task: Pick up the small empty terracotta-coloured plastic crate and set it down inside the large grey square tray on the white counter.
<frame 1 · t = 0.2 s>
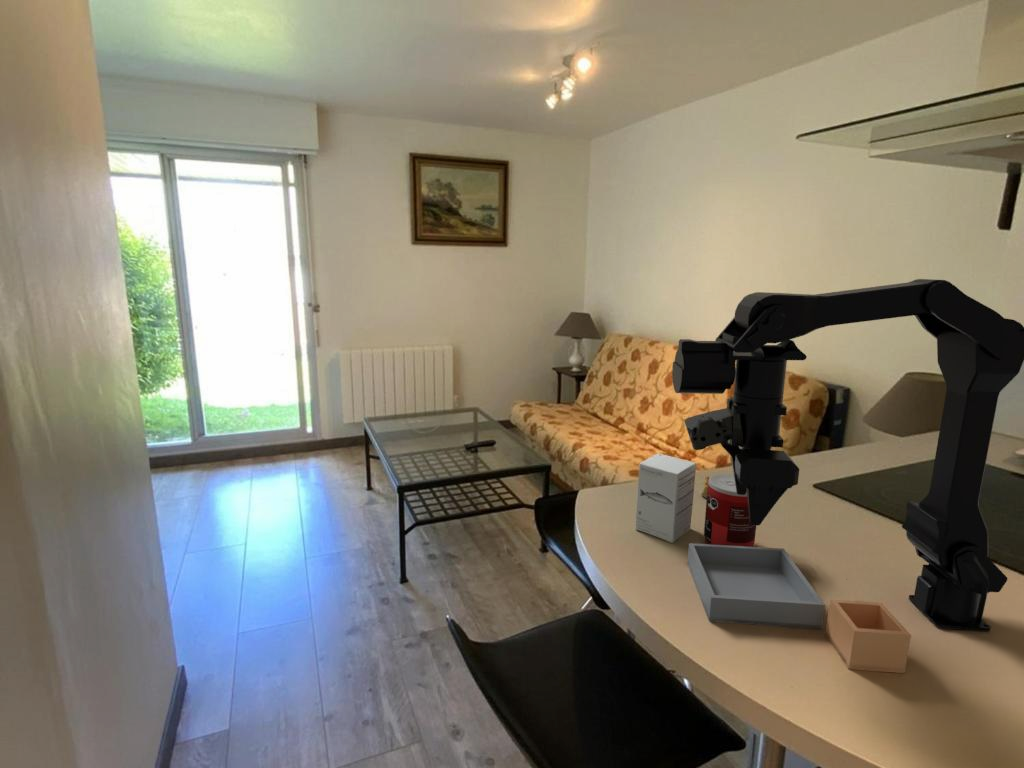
hand: (747, 508, 71), 14 cm above the kitchen counter, tool pointing down, fingers open, 9 cm apart
grey square tray: (747, 593, 77), on the kitchen counter
pastry: (720, 497, 109), on the kitchen counter
canned food: (727, 545, 90), on the kitchen counter
small crate: (862, 652, 65), on the kitchen counter
supplement box: (663, 530, 95), on the kitchen counter
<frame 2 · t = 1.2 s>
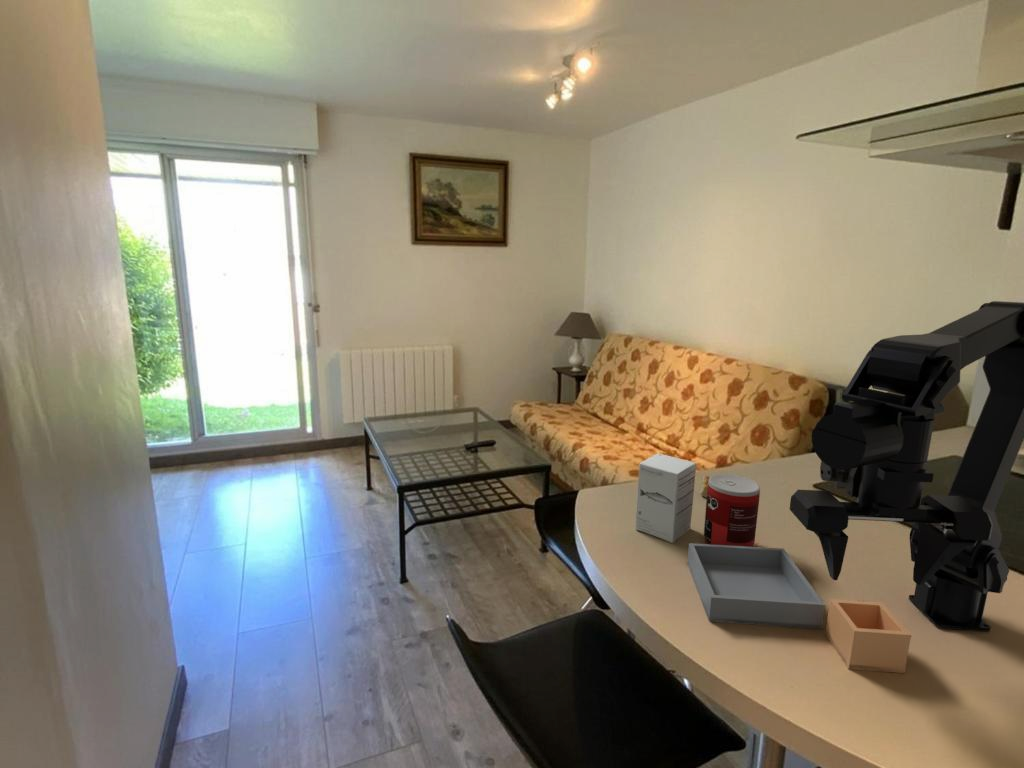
hand: (874, 580, 63), 10 cm above the kitchen counter, tool pointing down, fingers open, 9 cm apart
nothing on the kitchen counter moved.
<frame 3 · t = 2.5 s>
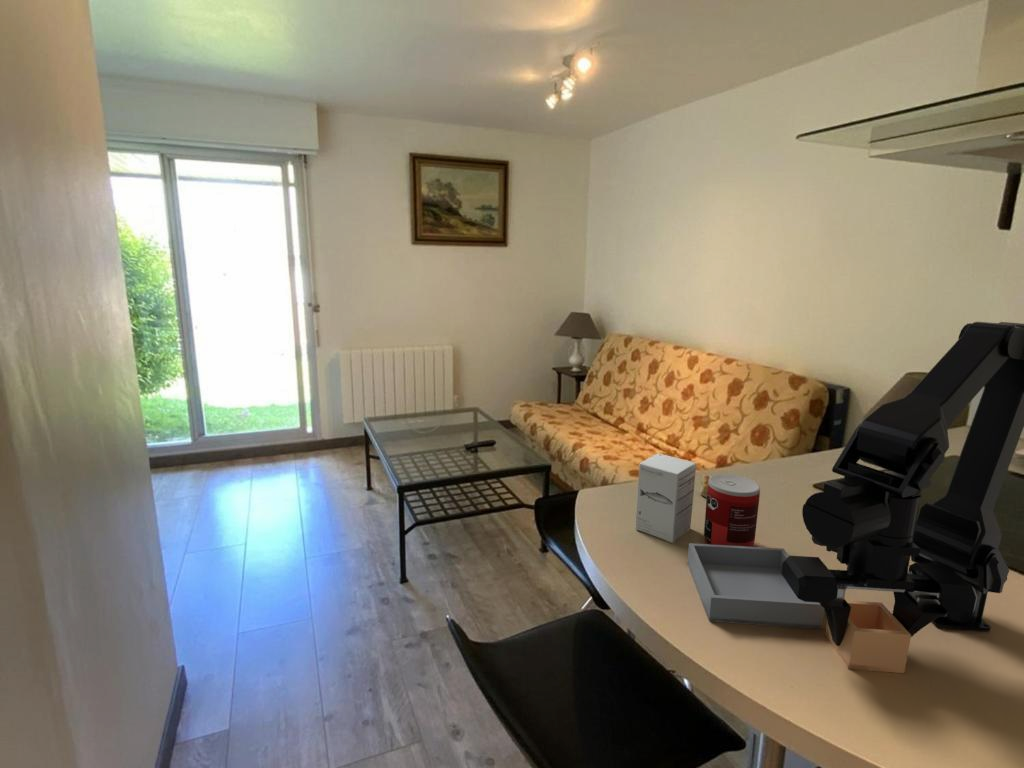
hand: (863, 645, 65), 1 cm above the kitchen counter, tool pointing down, fingers closed on small crate, 6 cm apart
small crate: (862, 652, 65), on the kitchen counter, touching gripper
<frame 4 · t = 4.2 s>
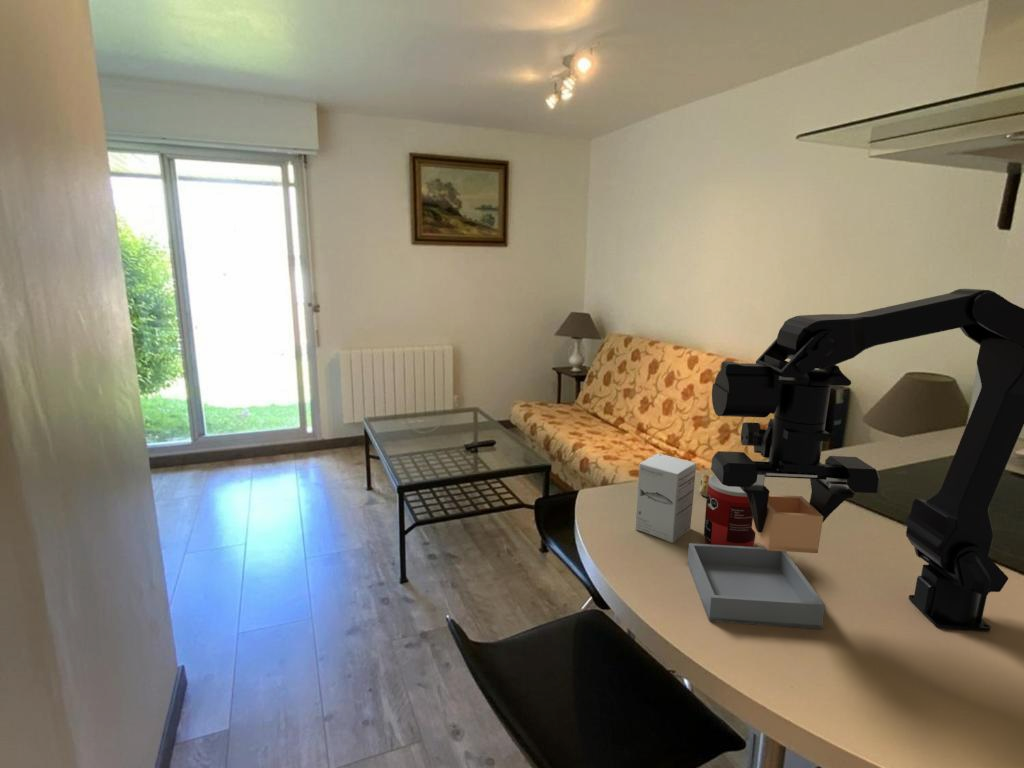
hand: (783, 532, 71), 11 cm above the kitchen counter, tool pointing down, fingers closed on small crate, 6 cm apart
small crate: (783, 540, 71), point 10 cm above the kitchen counter, touching gripper
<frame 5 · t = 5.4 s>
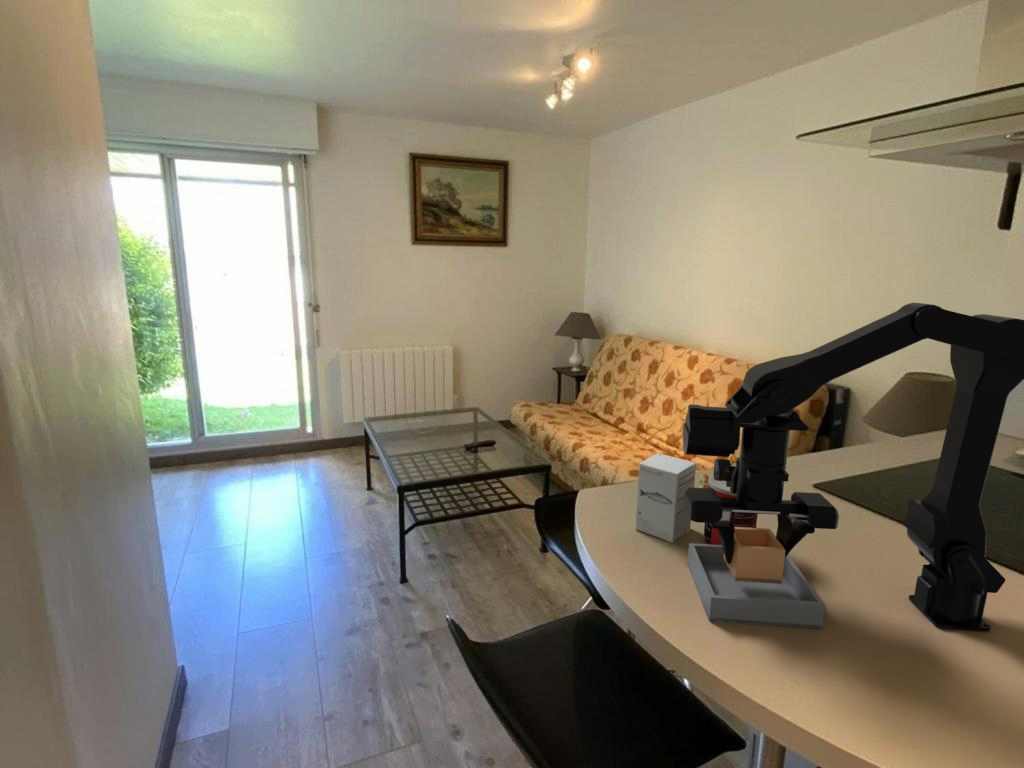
hand: (751, 563, 76), 5 cm above the kitchen counter, tool pointing down, fingers closed on small crate, 6 cm apart
small crate: (751, 570, 76), point 4 cm above the kitchen counter, touching gripper
when the fingers open (4 cm above the kitchen counter, at t = 6.0 s): small crate drops 2 cm, resting on grey square tray.
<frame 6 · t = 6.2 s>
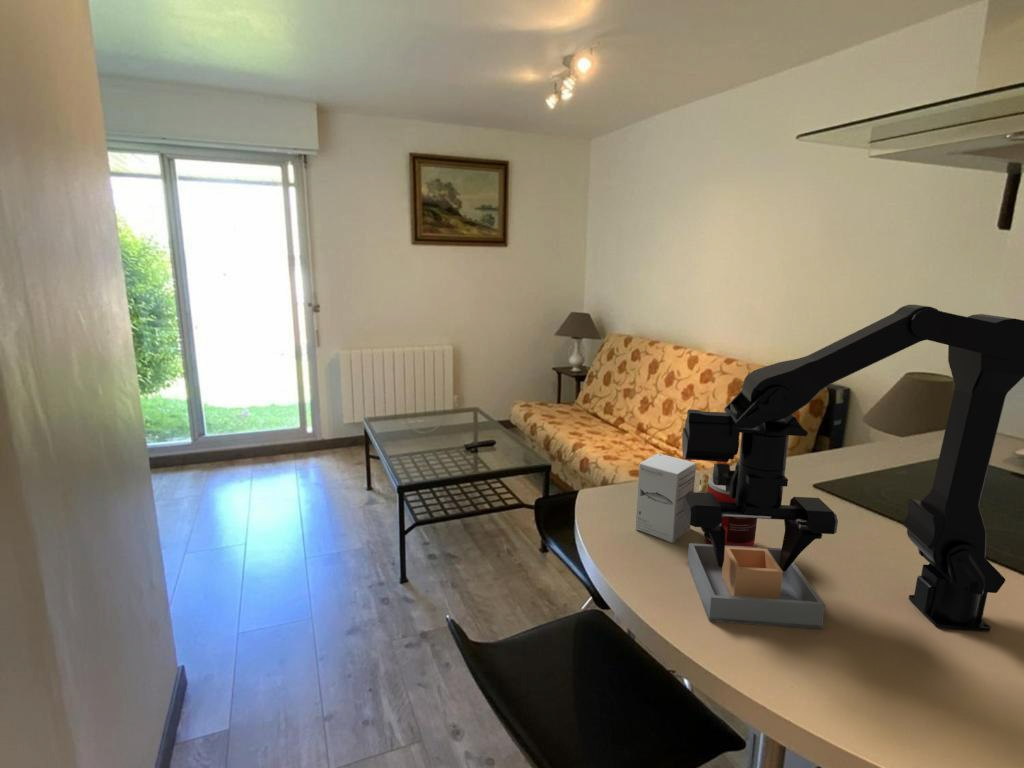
hand: (750, 567, 76), 4 cm above the kitchen counter, tool pointing down, fingers open, 8 cm apart
small crate: (749, 590, 77), resting on grey square tray
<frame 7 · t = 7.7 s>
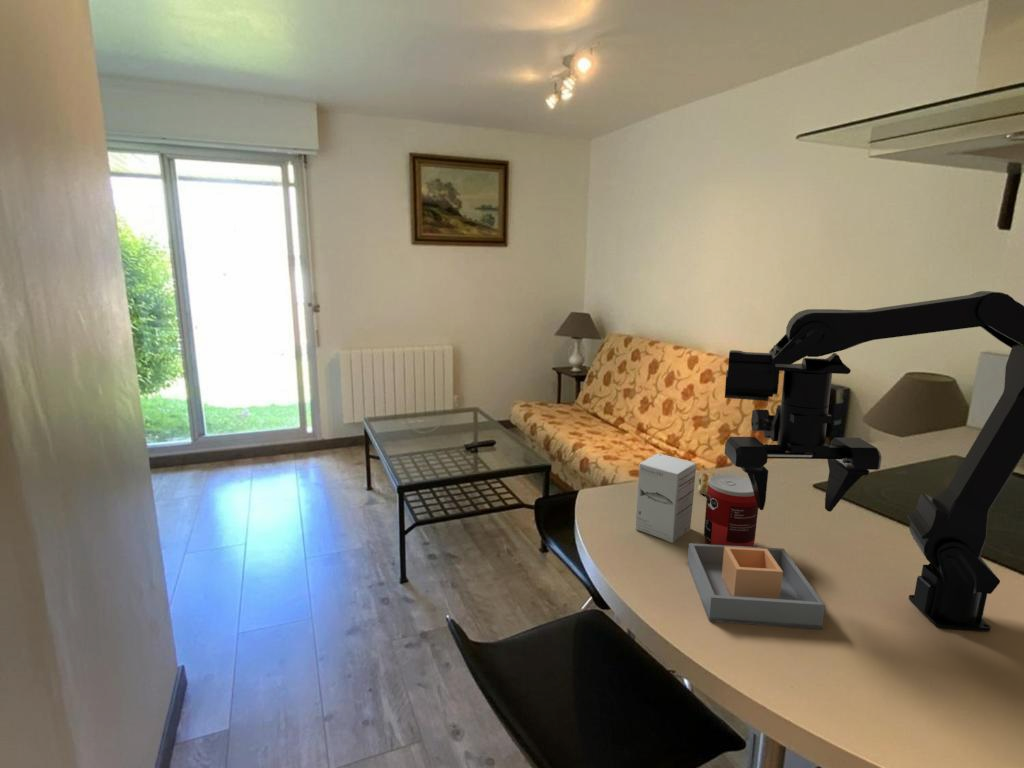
hand: (794, 509, 77), 12 cm above the kitchen counter, tool pointing down, fingers open, 9 cm apart
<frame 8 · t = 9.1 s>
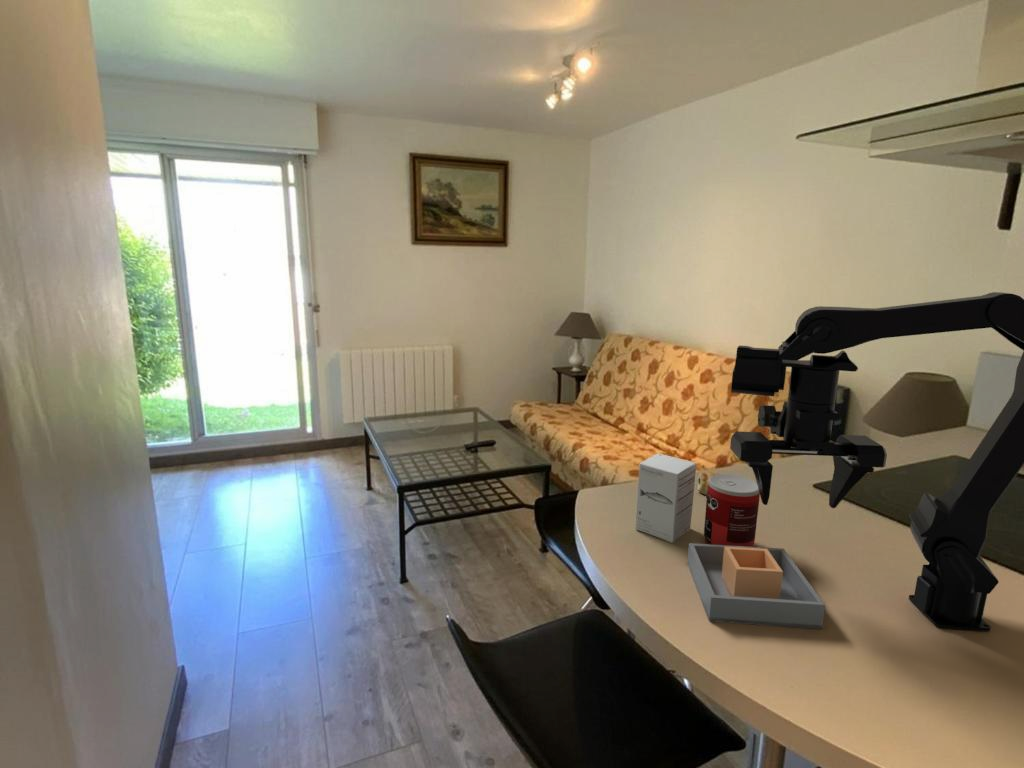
hand: (797, 505, 77), 12 cm above the kitchen counter, tool pointing down, fingers open, 9 cm apart
at the end: small crate inside the target area on the grey square tray (0.1 cm from its centre), point 0.5 cm above the grey square tray's base; small crate tilted 0°; the gripper is holding nothing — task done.
